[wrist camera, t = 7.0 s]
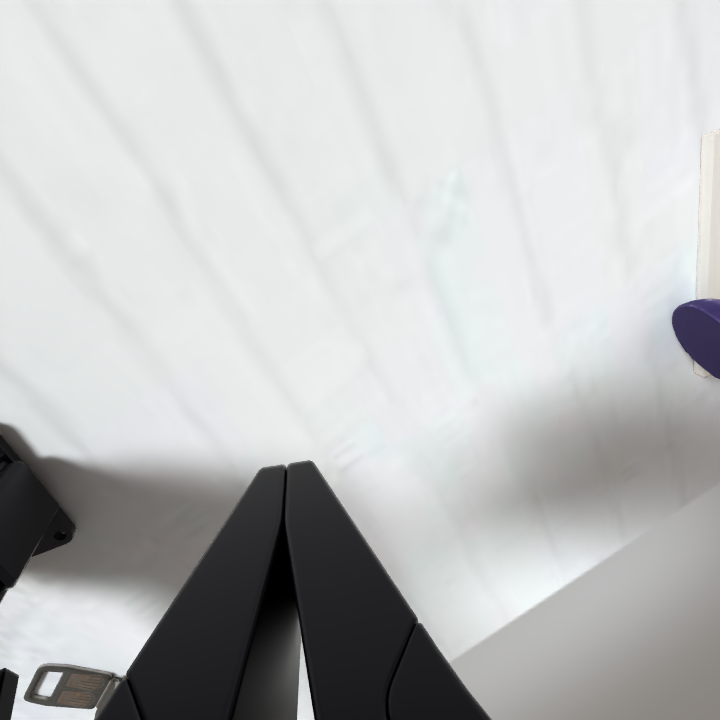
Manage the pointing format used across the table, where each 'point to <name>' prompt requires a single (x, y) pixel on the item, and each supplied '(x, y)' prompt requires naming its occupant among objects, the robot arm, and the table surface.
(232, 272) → the table surface
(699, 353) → the toy lamp
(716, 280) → the felt mat
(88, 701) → the strap clip
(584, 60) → the table surface
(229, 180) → the table surface
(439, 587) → the table surface
